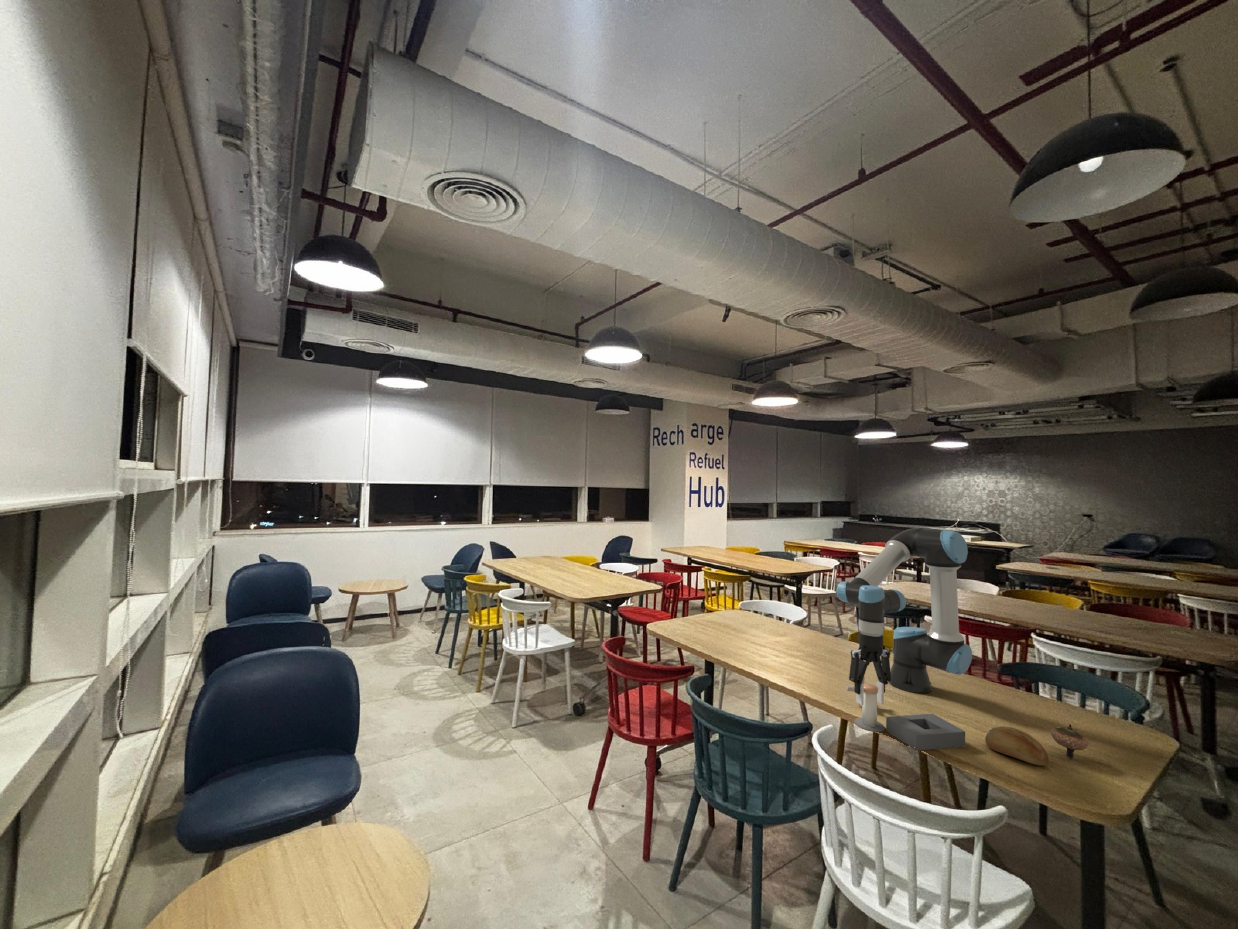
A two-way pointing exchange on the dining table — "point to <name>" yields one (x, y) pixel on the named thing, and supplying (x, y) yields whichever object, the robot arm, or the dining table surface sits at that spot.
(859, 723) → the grey round plate
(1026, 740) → the bread roll
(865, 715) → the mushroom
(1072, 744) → the brown spinning top
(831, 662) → the dining table surface
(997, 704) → the dining table surface
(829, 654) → the dining table surface
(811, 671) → the dining table surface
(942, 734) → the grey flat block
